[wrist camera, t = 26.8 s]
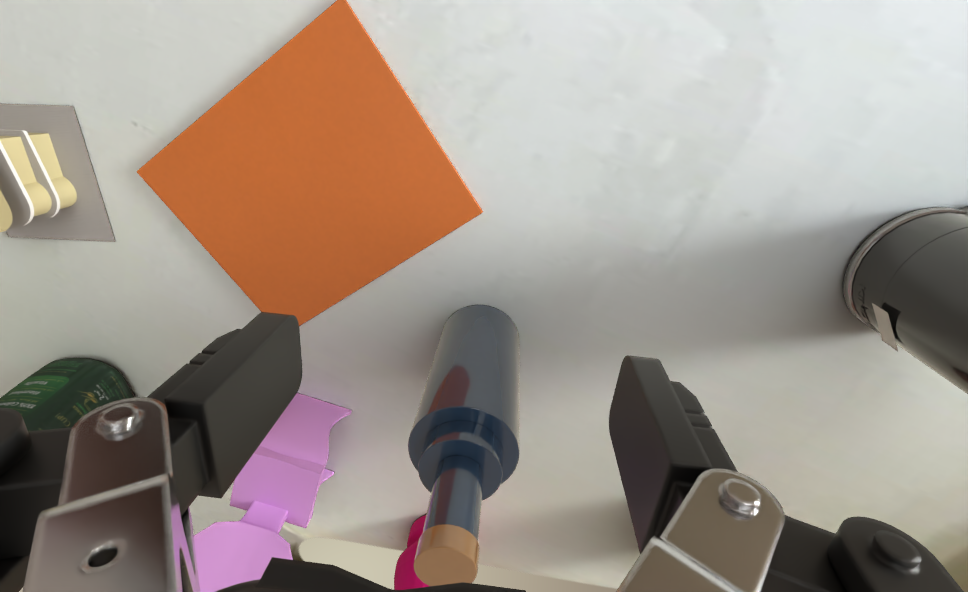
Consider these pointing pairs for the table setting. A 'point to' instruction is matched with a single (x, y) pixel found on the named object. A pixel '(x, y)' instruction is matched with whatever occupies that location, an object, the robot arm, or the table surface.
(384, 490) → the table surface
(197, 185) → the cloth
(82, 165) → the layered building model
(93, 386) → the coffee jar
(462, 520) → the bottle
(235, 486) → the toy chair
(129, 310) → the table surface
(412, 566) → the pepper mill
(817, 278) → the table surface
